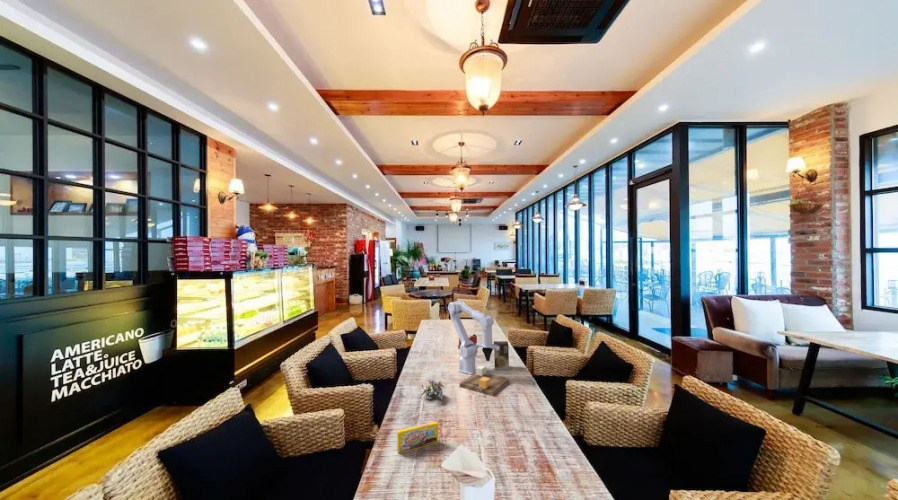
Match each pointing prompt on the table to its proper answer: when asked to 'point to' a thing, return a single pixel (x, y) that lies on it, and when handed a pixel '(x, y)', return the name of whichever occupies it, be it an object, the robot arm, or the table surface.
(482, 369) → the white fader
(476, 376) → the console
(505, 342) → the coffee box
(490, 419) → the table surface
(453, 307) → the robot arm
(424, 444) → the candy box
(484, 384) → the orange fader
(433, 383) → the passion flower
